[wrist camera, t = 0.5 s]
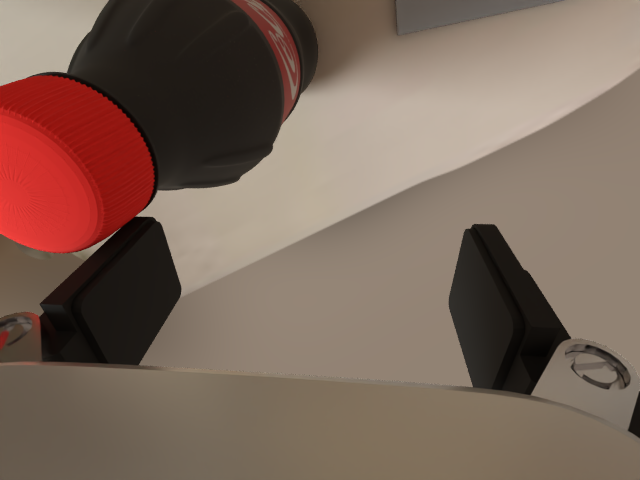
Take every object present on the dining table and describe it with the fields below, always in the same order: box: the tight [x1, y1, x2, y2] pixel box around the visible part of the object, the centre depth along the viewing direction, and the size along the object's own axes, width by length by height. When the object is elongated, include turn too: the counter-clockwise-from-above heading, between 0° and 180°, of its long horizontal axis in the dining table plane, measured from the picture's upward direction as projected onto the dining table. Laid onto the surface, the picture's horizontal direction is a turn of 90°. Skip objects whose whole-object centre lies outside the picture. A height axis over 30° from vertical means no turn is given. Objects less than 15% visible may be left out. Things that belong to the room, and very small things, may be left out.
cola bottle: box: [0, 0, 318, 253], centre depth 20 cm, size 8×8×30 cm
